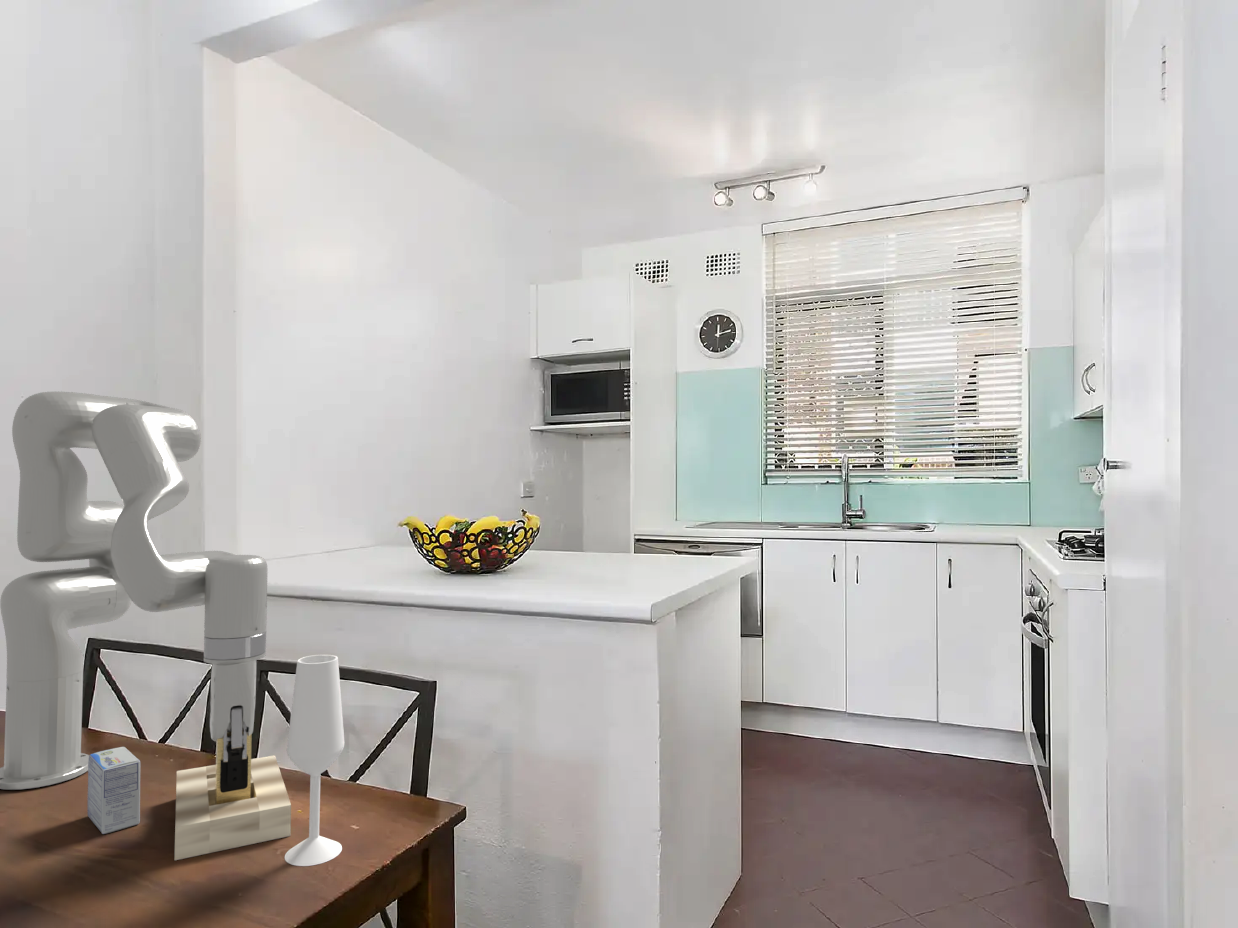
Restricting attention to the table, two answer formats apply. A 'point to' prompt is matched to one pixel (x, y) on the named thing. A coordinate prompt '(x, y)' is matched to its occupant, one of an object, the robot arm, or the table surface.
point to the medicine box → (114, 789)
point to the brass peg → (220, 796)
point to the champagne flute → (315, 745)
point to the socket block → (229, 811)
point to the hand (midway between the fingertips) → (232, 781)
